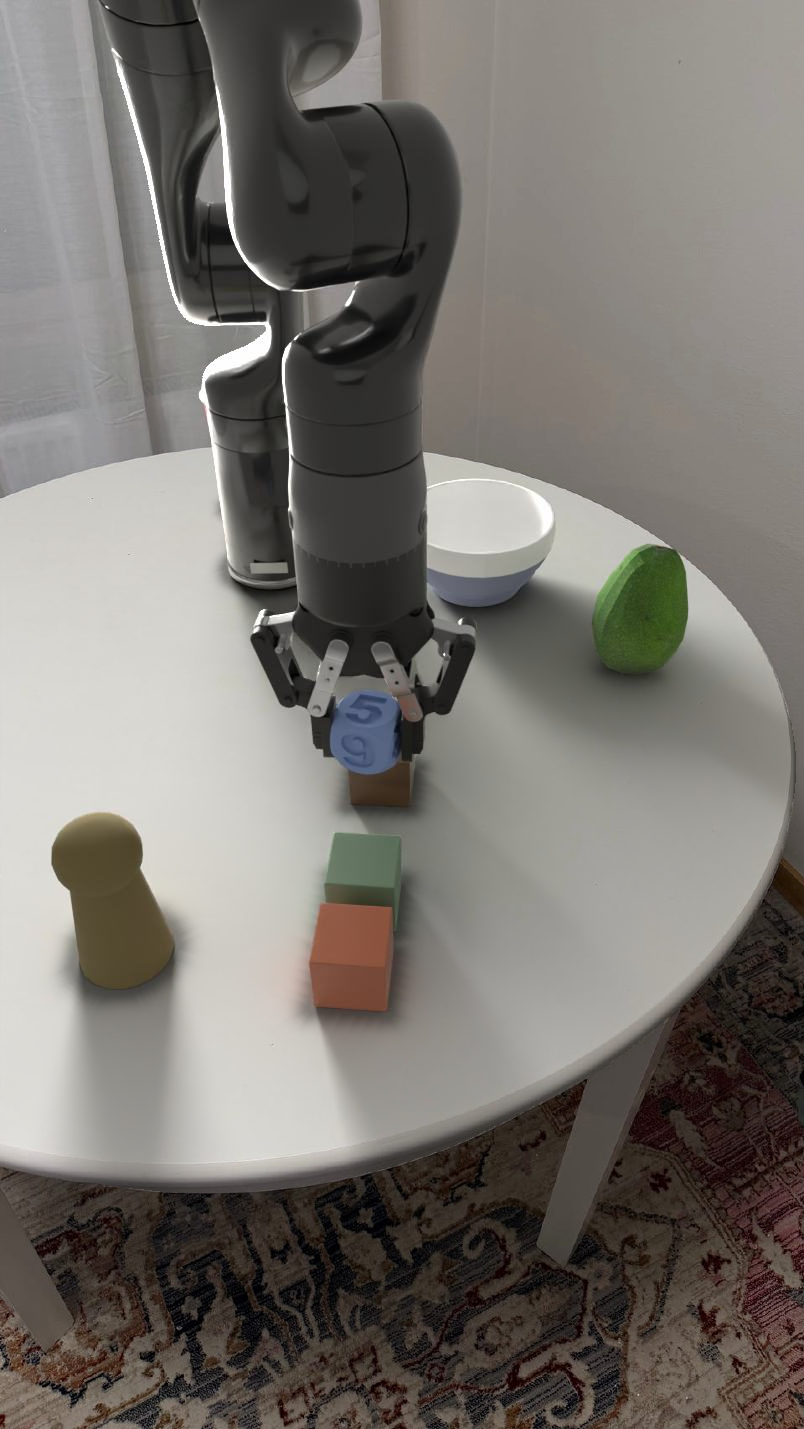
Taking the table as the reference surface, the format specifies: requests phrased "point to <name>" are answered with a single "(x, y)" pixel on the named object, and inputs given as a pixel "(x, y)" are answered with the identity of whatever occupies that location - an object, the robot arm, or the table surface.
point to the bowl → (485, 539)
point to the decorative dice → (367, 732)
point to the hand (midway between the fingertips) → (369, 750)
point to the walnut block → (384, 786)
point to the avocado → (642, 611)
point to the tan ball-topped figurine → (111, 901)
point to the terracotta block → (352, 957)
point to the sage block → (365, 871)
